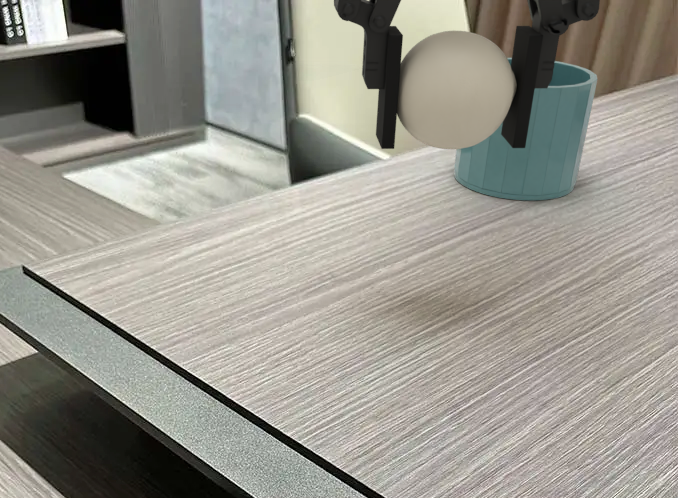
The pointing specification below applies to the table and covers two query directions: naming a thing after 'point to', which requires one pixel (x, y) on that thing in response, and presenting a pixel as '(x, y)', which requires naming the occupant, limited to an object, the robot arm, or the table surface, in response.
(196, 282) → the table surface
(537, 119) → the canister
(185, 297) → the table surface
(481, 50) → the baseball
